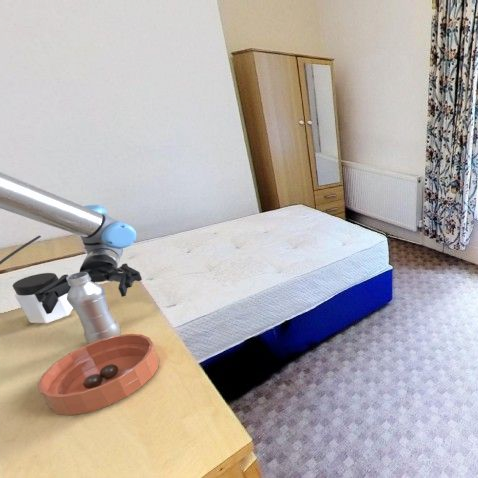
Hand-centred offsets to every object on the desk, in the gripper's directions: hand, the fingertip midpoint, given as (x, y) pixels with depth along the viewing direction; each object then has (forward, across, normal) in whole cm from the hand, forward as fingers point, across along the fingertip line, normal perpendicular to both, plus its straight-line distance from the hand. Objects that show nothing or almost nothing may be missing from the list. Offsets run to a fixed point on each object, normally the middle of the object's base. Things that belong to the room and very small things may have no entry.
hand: (86, 300), depth 80 cm
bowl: (+19, -3, -13) cm, 23 cm away
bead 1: (+20, 0, -10) cm, 22 cm away
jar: (-21, +14, -13) cm, 28 cm away
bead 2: (+18, -4, -9) cm, 21 cm away
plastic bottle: (+1, -1, -13) cm, 13 cm away
